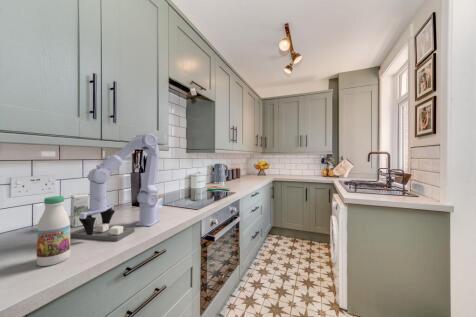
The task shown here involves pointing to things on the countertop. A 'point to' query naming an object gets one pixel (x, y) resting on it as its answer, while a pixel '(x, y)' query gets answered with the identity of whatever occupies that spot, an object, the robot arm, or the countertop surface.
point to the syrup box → (78, 208)
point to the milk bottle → (53, 233)
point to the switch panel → (102, 234)
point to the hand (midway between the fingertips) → (97, 231)
